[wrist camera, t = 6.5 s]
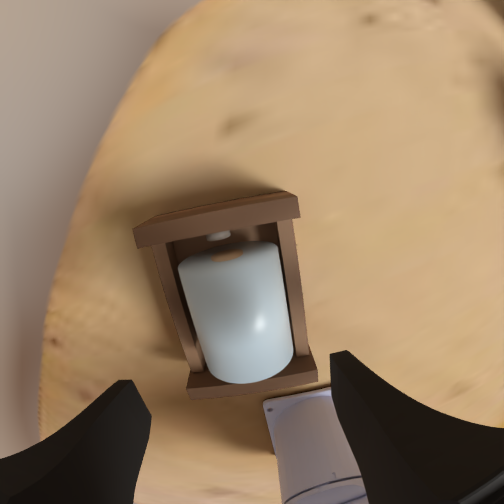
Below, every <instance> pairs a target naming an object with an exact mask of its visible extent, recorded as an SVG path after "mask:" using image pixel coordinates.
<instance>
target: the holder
mask: <svg viewBox="0 0 504 504" xmlns="http://www.w3.org/2000/svg"><path fill="white" fill-rule="evenodd" d="M295 218H300V211H299V204H298V198H297V196H295V195H293V194H291V193H289V192H287V191H280V192H274V193H269V194H263V195H257V196H252V197H246V198H241V199H235V200H230V201H225V202H220V203H215V204H210V205H205V206H200V207H195V208H191V209H186V210H181V211H177V212H172V213H168V214H163V215H159V216H155V217H153V218H151V219H150V220H148V221H146V222H144V223H142V224H141V225H139V226H137V227H135V228H133V233H134V237H135V241H136V245H137V249H138V248H143V247H148V246H152V250H153V254H154V257H155V261H156V265H157V268H158V272H159V275H160V279H161V282H162V286H163V289H164V292H165V296H166V299H167V302H168V305H169V308H170V311H171V315H172V318H173V321H174V324H175V327H176V330H177V333H178V336H179V338H180V341H181V344H182V347H183V350H184V353H185V355H186V358H187V361H188V363H189V366H190V369H191V370H190V374H189V378H188V383H187V387H186V390H187V392H188V395H189V397H190V399H191V400H196V399H209V398H219V397H229V396H237V395H245V394H252V393H259V392H266V391H272V390H278V389H283V388H289V387H294V386H299V385H304V384H309V383H314V382H318V370H317V367H316V364H315V361H314V358H313V356H312V353H311V350H310V347H309V344H308V338H307V329H306V320H305V311H304V303H303V294H302V286H301V279H300V271H299V264H298V256H297V249H296V242H295V235H294V229H293V222H292V219H295ZM245 241H266V242H271V243H274V244H275V245H277V247H278V253H279V259H280V265H281V271H282V277H283V284H284V290H285V297H286V303H287V310H288V316H289V323H290V330H291V337H292V344H293V356H292V358H291V360H290V362H289V363H288V365H287V366H286V367H285V368H284V369H283V370H281V371H280V372H279V373H277V374H275V375H274V376H272V377H270V378H267V379H264V380H261V381H258V382H253V383H245V384H237V383H229V382H225V381H222V380H220V379H218V378H216V377H215V376H214V375H212V374H211V372H210V371H209V369H208V366H207V363H206V360H205V357H204V354H203V351H202V348H201V345H200V342H199V339H198V336H197V333H196V330H195V327H194V323H193V320H192V317H191V313H190V310H189V307H188V303H187V300H186V297H185V293H184V290H183V286H182V282H181V279H180V275H179V272H178V266H179V264H180V263H181V262H182V261H183V260H185V259H186V258H188V257H190V256H192V255H194V254H196V253H199V252H201V251H204V250H207V249H210V248H213V247H217V246H221V245H225V244H231V243H236V242H245Z"/></svg>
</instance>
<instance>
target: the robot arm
mask: <svg viewBox="0 0 504 504" xmlns="http://www.w3.org/2000/svg"><path fill="white" fill-rule="evenodd" d="M330 374H331V387H328V388H323V389H319V390H315V391H310V392H305V393H300V394H295V395H290V396H284V397H279V398H273V399H267V400H265V401H264V402H263V408H264V412H265V416H266V420H267V424H268V428H269V432H270V436H271V440H272V444H273V448H274V452H275V455H276V459H277V464H278V473H279V481H280V490H281V499H282V504H504V428H496V427H489V426H484V425H480V424H475V423H471V422H468V421H464V420H461V419H458V418H455V417H452V416H449V415H446V414H444V413H441V412H439V411H436V410H434V409H432V408H430V407H428V406H426V405H424V404H422V403H420V402H418V401H416V400H414V399H412V398H411V397H409V396H407V395H406V394H404V393H402V392H401V391H399V390H398V389H396V388H395V387H393V386H392V385H390V384H389V383H387V382H386V381H385V380H383V379H382V378H381V377H379V376H378V375H377V374H375V373H374V372H373V371H371V370H370V369H369V368H368V367H367V366H365V365H364V364H363V363H362V362H361V361H359V360H358V359H357V358H356V357H355V356H354V355H352V354H351V353H350V352H349V351H347V350H345V351H341V352H337V353H332V354H330ZM268 408H271V409H268ZM151 418H152V416H151V414H150V412H149V410H148V409H147V407H146V405H145V403H144V401H143V400H142V398H141V396H140V394H139V392H138V390H137V388H136V386H135V384H134V383H133V381H132V380H118V381H117V382H115V383H114V384H113V385H112V386H110V387H109V388H108V389H107V390H106V391H105V392H104V393H102V394H101V395H100V396H99V397H98V398H97V399H96V400H95V401H94V402H92V403H91V404H90V405H89V406H88V407H87V408H86V409H84V410H83V411H82V412H81V413H80V414H79V415H77V416H76V417H75V418H74V419H72V420H71V421H70V422H69V423H67V424H66V425H65V426H64V427H62V428H61V429H60V430H58V431H57V432H55V433H54V434H52V435H51V436H49V437H48V438H46V439H44V440H43V441H41V442H39V443H37V444H35V445H33V446H31V447H30V448H28V449H26V450H24V451H21V452H19V453H16V454H14V455H11V456H8V457H5V458H2V459H0V504H133V500H134V492H135V487H136V482H137V478H138V475H139V471H140V468H141V464H142V461H143V457H144V454H145V450H146V447H147V443H148V439H149V434H150V427H151Z"/></svg>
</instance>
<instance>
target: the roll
mask: <svg viewBox="0 0 504 504" xmlns="http://www.w3.org/2000/svg"><path fill="white" fill-rule="evenodd" d="M178 272H179V275H180V279H181V282H182V286H183V290H184V293H185V297H186V300H187V303H188V307H189V310H190V313H191V317H192V320H193V323H194V327H195V330H196V333H197V336H198V339H199V342H200V345H201V348H202V351H203V354H204V357H205V360H206V363H207V366H208V369H209V371H210V372H211V374H212V375H214V376H215V377H216V378H218V379H220V380H222V381H225V382H229V383H237V384H245V383H253V382H258V381H261V380H264V379H267V378H270V377H272V376H274V375H275V374H277V373H279V372H280V371H281V370H283V369H284V368H285V367H286V366H287V365H288V363H289V362H290V360H291V358H292V356H293V344H292V337H291V330H290V323H289V316H288V310H287V303H286V297H285V290H284V284H283V277H282V271H281V265H280V259H279V253H278V247H277V245H275V244H274V243H271V242H266V241H245V242H236V243H231V244H225V245H221V246H217V247H213V248H210V249H207V250H204V251H201V252H199V253H196V254H194V255H192V256H190V257H188V258H186V259H185V260H183V261H182V262H181V263H180V264H179V266H178Z"/></svg>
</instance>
